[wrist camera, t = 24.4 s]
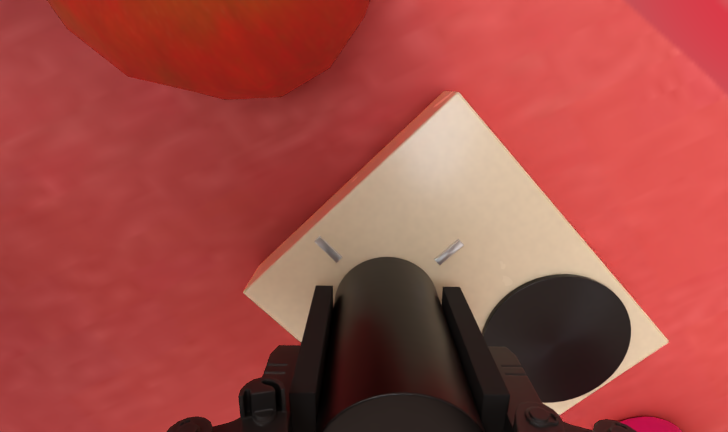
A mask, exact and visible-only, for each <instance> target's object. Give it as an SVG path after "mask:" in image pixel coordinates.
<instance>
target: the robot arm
mask: <svg viewBox="0 0 728 432" xmlns="http://www.w3.org/2000/svg"><path fill="white" fill-rule="evenodd" d="M441 306H442V309H443V311H444V314H445V317H446V320H447V323H448V326H449V329H450V332H451V335H452V338H453V341H454V344H455V346H456V349H457V352H458V355H459V358H460V361H461V364H462V367H463V370H464V373H465V376H466V379H467V381H468V384H469V387H470V390H471V393H472V396H473V399H474V402H475V405H476V408H477V411H478V414H479V416H480V419H481V422H482V425H483V428H484V431H485V432H637V431H636V430H634V429H632V428H631V427H629V426H628V425H626V424H623V423H621V422H618V421H614V420H608V419H606V420H599V421H598V422H597V423H595V424H594V428H593V430H589V429H585V428H581V427H577V426H573V425H570V424H567V423H565V422H563V421H562V420H561V418H560V416H559V415H558V414H557V413H556V412H555V411H554V410H553V409H552V408H550V407H548V406H546V405H545V404H543V403H542V402H541V400H540V398H539V396H538V394H537V393H536V391H535V389H534V387H533V385H532V384H531V382H530V380H529V378H528V376H526V373H525V371H524V369H523V367H521V364H520V362H519V360H518V358H517V357H516V355H515V354H514V353H512V352H511V351H510V350H509V349H508V348H507V347H490V346H487V344H486V342H485V339H484V337H483V335H482V333H481V331H480V329H479V327H478V324H477V322H476V320H475V318H474V316H473V314H472V312H471V309H470V307H469V305H468V303H467V301H466V299H465V296H464V294H463V292H462V290H461V288H460V287H443V290H442V304H441ZM332 315H333V286H324V285H316V286H315V290H314V294H313V298H312V302H311V306H310V310H309V314H308V318H307V322H306V326H305V330H304V334H303V338H302V342H301V346H285V345H279V346H278V347H277V348H276V349H275V350H274V351H273V352H272V353H271V354H270V357H269V359H268V362H267V366H266V368H265V371H264V374H263V376H262V377H261V378H258V379H254V380H252V381H250V382H249V383H247V384H246V385H245V386H244V387H243V388H242V389H241V390H240V393H239V396H238V397H239V406H240V416H241V417H240V418H239V419H237V420H235V421H232V422H229V423H226V424H222V425H218V426H214V427H212V425H211V422H210V421H209V420H207V419H206V418H203V417H190V418H186V419H183V420H181V421H178V422H177V423H176V424H174V425H173V426H171V427H170V428H169V429H168V431H167V432H315V431H316V424H317V418H318V411H319V404H320V397H321V390H322V383H323V376H324V370H325V363H326V356H327V349H328V342H329V335H330V328H331V322H332Z"/></svg>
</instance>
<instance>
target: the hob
mask: <svg viewBox="0 0 728 432" xmlns="http://www.w3.org/2000/svg"><path fill="white" fill-rule="evenodd" d="M379 257H396V258H401V259H404V260H407V261H410V262H412V263H414V264H415V265H417V266H419V267H420V268H421V269H422V270H424V271H425V272H426V273H427V275H428V276H429V277H430V279H431V280H432V282H433V284H434V286H435V288H436V291H437V294H438V297H439V300H440V303H441V304H442V290H443V287H460V288H461V290H462V292H463V294H464V296H465V299H466V301H467V303H468V305H469V307H470V309H471V312H472V314H473V316H474V318H475V320H476V322H477V324H478V327H479V329H480V331H481V333H482V331H483V328H484V325H485V323H486V320H487V319H488V317H489V315H490V313H491V312H492V310H493V309H494V307H495V306H496V305H497V304H498V303H499V302H500V301H501V300H502V299H503V298H504V297H505V296H506V295H507V294H508V293H510V292H511V291H513V290H514V289H515V288H517V287H519V286H521V285H522V284H524V283H526V282H529V281H531V280H534V279H536V278H540V277H544V276H549V275H555V274H572V275H580V276H584V277H588V278H591V279H593V280H596V281H598V282H600V283H602V284H603V285H605V286H606V287H608V288H609V289H610V290H611V291H613V292H614V293H615V294H616V295H617V296H618V297H619V298H620V300H621V301H622V303H623V304H624V306H625V308H626V310H627V312H628V315H629V318H630V323H631V339H630V345H629V348H628V351H627V354H626V356H625V358H624V360H623V361H622V363H621V364H620V366H619V367H618V369H617V370H616V371H615V372H614V373H613V375H612V376H611V377H610V378H608V379H607V380H606V381H605V382H604V383H603V384H601V385H600V386H599V387H597V388H595V389H594V390H592V391H590V392H589V393H586V394H584V395H582V396H580V397H577V398H574V399H571V400H566V401H562V402H554V403H543V404H545V405H546V406H548V407H550V408H552V409H553V410H554V411H555V412H556V413H557V414H558V415H561V414H562V413H564V412H565V411H567V410H568V409H570V408H571V407H573V406H574V405H576V404H577V403H579V402H580V401H582V400H583V399H585V398H586V397H588V396H589V395H591V394H592V393H594V392H595V391H597V390H598V389H600V388H601V387H603V386H604V385H606V384H607V383H609V382H610V381H612V380H613V379H615V378H616V377H618V376H619V375H621V374H622V373H624V372H625V371H627V370H628V369H630V368H631V367H633V366H634V365H636V364H637V363H639V362H640V361H642V360H643V359H645V358H646V357H648V356H649V355H651V354H652V353H654V352H655V351H657V350H658V349H660V348H661V347H663V346H664V345H666V344H667V343H668V342H669V341H668V339H667V338H666V337H665V336H664V334H663V333H662V332H661V331H660V330H659V328H658V327H657V326H656V325H655V324H654V323H653V321H652V320H651V319H650V318H649V317H648V315H647V314H646V313H645V312H644V311H643V310H642V308H641V307H640V306H639V305H638V304H637V302H636V301H635V300H634V299H633V298H632V296H631V295H630V294H629V293H628V292H627V291H626V289H625V288H624V287H623V286H622V285H621V283H620V282H619V281H618V280H617V279H616V278H615V276H614V275H613V274H612V273H611V272H610V270H609V269H608V268H607V267H606V266H605V265H604V263H603V262H602V261H601V260H600V259H599V257H598V256H597V255H596V254H595V253H594V251H593V250H592V249H591V248H590V247H589V246H588V244H587V243H586V242H585V241H584V240H583V238H582V237H581V236H580V235H579V234H578V233H577V231H576V230H575V229H574V228H573V227H572V225H571V224H570V223H569V222H568V221H567V219H566V218H565V217H564V216H563V215H562V214H561V212H560V211H559V210H558V209H557V208H556V206H555V205H554V204H553V203H552V202H551V201H550V199H549V198H548V197H547V196H546V195H545V193H544V192H543V191H542V190H541V189H540V188H539V186H538V185H537V184H536V183H535V182H534V180H533V179H532V178H531V177H530V176H529V174H528V173H527V172H526V171H525V170H524V169H523V167H522V166H521V165H520V164H519V163H518V161H517V160H516V159H515V158H514V157H513V156H512V154H511V153H510V152H509V151H508V150H507V148H506V147H505V146H504V145H503V144H502V142H501V141H500V140H499V139H498V138H497V137H496V135H495V134H494V133H493V132H492V131H491V129H490V128H489V127H488V126H487V125H486V124H485V122H484V121H483V120H482V119H481V118H480V116H479V115H478V114H477V113H476V112H475V111H474V109H473V108H472V107H471V106H470V105H469V103H468V102H467V101H466V100H465V99H464V97H463V96H462V95H461V94H460V93H459V92H452V91H443V92H442V93H441V94H440V95H439V96H438V97H437V98H436V99H435V100H434V101H433V102H432V103H431V104H430V105H428V106H427V107H426V108H425V109H424V110H423V111H422V112H421V113H420V114H419V115H418V116H417V117H416V118H415V119H414V120H413V121H412V122H410V123H409V124H408V125H407V126H406V127H405V128H404V129H403V130H402V131H401V132H400V133H399V134H398V135H397V136H396V137H395V138H393V139H392V140H391V141H390V142H389V143H388V144H387V145H386V146H385V147H384V148H383V149H382V150H381V151H380V152H379V153H378V154H376V155H375V156H374V157H373V158H372V159H371V160H370V161H369V162H368V163H367V164H366V165H365V166H364V167H363V168H362V169H361V170H360V171H358V172H357V173H356V174H355V175H354V176H353V177H352V178H351V179H350V180H349V181H348V182H347V183H346V184H345V185H344V186H343V187H341V188H340V189H339V190H338V191H337V192H336V193H335V194H334V195H333V196H332V197H331V198H330V199H329V200H328V201H327V202H326V203H324V204H323V205H322V206H321V207H320V208H319V209H318V210H317V211H316V212H315V213H314V214H313V215H312V216H311V217H310V218H309V219H308V220H306V221H305V222H304V223H303V224H302V225H301V226H300V227H299V228H298V229H297V230H296V231H295V232H294V233H293V234H292V235H291V236H289V237H288V238H287V239H286V240H285V241H284V242H283V243H282V244H281V245H280V246H279V247H278V248H277V249H276V250H275V251H274V252H273V253H271V254H270V255H269V256H268V257H267V258H266V259H265V260H264V261H263V262H262V263H261V264H260V265H259V266H258V268H257V269H256V271H255V273H254V274H253V276H252V278H251V279H250V281H249V283H248V284H247V286H246V288H245V290H244V291H243V293H244V294H245V295H246V296H247V297H248V298H249V299H251V300H252V301H253V302H254V303H255V304H256V305H258V306H259V307H260V308H261V309H262V310H263V311H265V312H266V313H267V314H268V315H269V316H270V317H272V318H273V319H274V320H275V321H276V322H277V323H279V324H280V325H281V326H282V327H283V328H284V329H286V330H287V331H288V332H289V333H290V334H291V335H293V336H294V337H295V338H296V339H297V340H298V341H300V342H302V338H303V334H304V330H305V326H306V322H307V318H308V314H309V310H310V306H311V302H312V298H313V294H314V290H315V286H316V285H324V286H333V308H334V301H335V295H336V291H337V288H338V286H339V284H340V282H341V280H342V279H343V278H344V276H345V275H346V274H347V273H348V272H349V271H350V270H351V269H352V268H354V267H355V266H357V265H358V264H360V263H362V262H364V261H367V260H370V259H373V258H379Z"/></svg>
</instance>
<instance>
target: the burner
mask: <svg viewBox="0 0 728 432" xmlns="http://www.w3.org/2000/svg"><path fill="white" fill-rule="evenodd" d="M482 335H483V337H484V339H485V342H486V344H487V346H490V347H507V348H508V349H509V350H510V351H511V352H512V353H514V354H515V355H516V357H517V358H518V360H519V362H520V364H521V367H523V369H524V371H525V373H526V376H528V378H529V380H530V382H531V384H532V385H533V387H534V389H535V391H536V393H537V394H538V396H539V398H540V400H541V402H542V403H554V402H562V401H566V400H571V399H574V398H577V397H580V396H582V395H584V394H586V393H589V392H590V391H592V390H594V389H595V388H597V387H599V386H600V385H601V384H603V383H604V382H605V381H606V380H607V379H608V378H610V377H611V376H612V375H613V373H614V372H615V371H616V370H617V369H618V367H619V366H620V364H621V363H622V361H623V360H624V358H625V356H626V354H627V351H628V348H629V345H630V339H631V323H630V318H629V315H628V312H627V310H626V308H625V306H624V304H623V303H622V301H621V300H620V298H619V297H618V296H617V295H616V294H615V293H614V292H613V291H611V290H610V289H609V288H608V287H606V286H605V285H603V284H602V283H600V282H598V281H596V280H593V279H591V278H588V277H584V276H580V275H572V274H555V275H549V276H544V277H540V278H536V279H534V280H531V281H529V282H526V283H524V284H522V285H521V286H519V287H517V288H515V289H514V290H513V291H511V292H510V293H508V294H507V295H506V296H505V297H504V298H503V299H502V300H501V301H500V302H499V303H498V304H497V305H496V306H495V307H494V309H493V310H492V312H491V313H490V315H489V317H488V319H487V320H486V323H485V325H484V328H483V331H482Z"/></svg>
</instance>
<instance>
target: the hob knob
mask: <svg viewBox="0 0 728 432" xmlns="http://www.w3.org/2000/svg"><path fill="white" fill-rule="evenodd" d="M315 432H485V431H484V428H483V425H482V422H481V419H480V416H479V414H478V411H477V408H476V405H475V402H474V399H473V396H472V393H471V390H470V387H469V384H468V381H467V379H466V376H465V373H464V370H463V367H462V364H461V361H460V358H459V355H458V352H457V349H456V346H455V344H454V341H453V338H452V335H451V332H450V329H449V326H448V323H447V320H446V317H445V314H444V311H443V309H442V306H441V303H440V300H439V297H438V294H437V291H436V288H435V286H434V284H433V282H432V280H431V279H430V277H429V276H428V275H427V273H426V272H425V271H424V270H422V269H421V268H420V267H419V266H417V265H415V264H414V263H412V262H410V261H407V260H404V259H401V258H396V257H379V258H373V259H370V260H367V261H364V262H362V263H360V264H358V265H357V266H355V267H354V268H352V269H351V270H350V271H349V272H348V273H347V274H346V275H345V276H344V278H343V279H342V280H341V282H340V284H339V286H338V288H337V291H336V295H335V301H334V308H333V315H332V322H331V328H330V335H329V342H328V349H327V356H326V363H325V370H324V376H323V383H322V390H321V397H320V404H319V411H318V418H317V424H316V431H315Z"/></svg>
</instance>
